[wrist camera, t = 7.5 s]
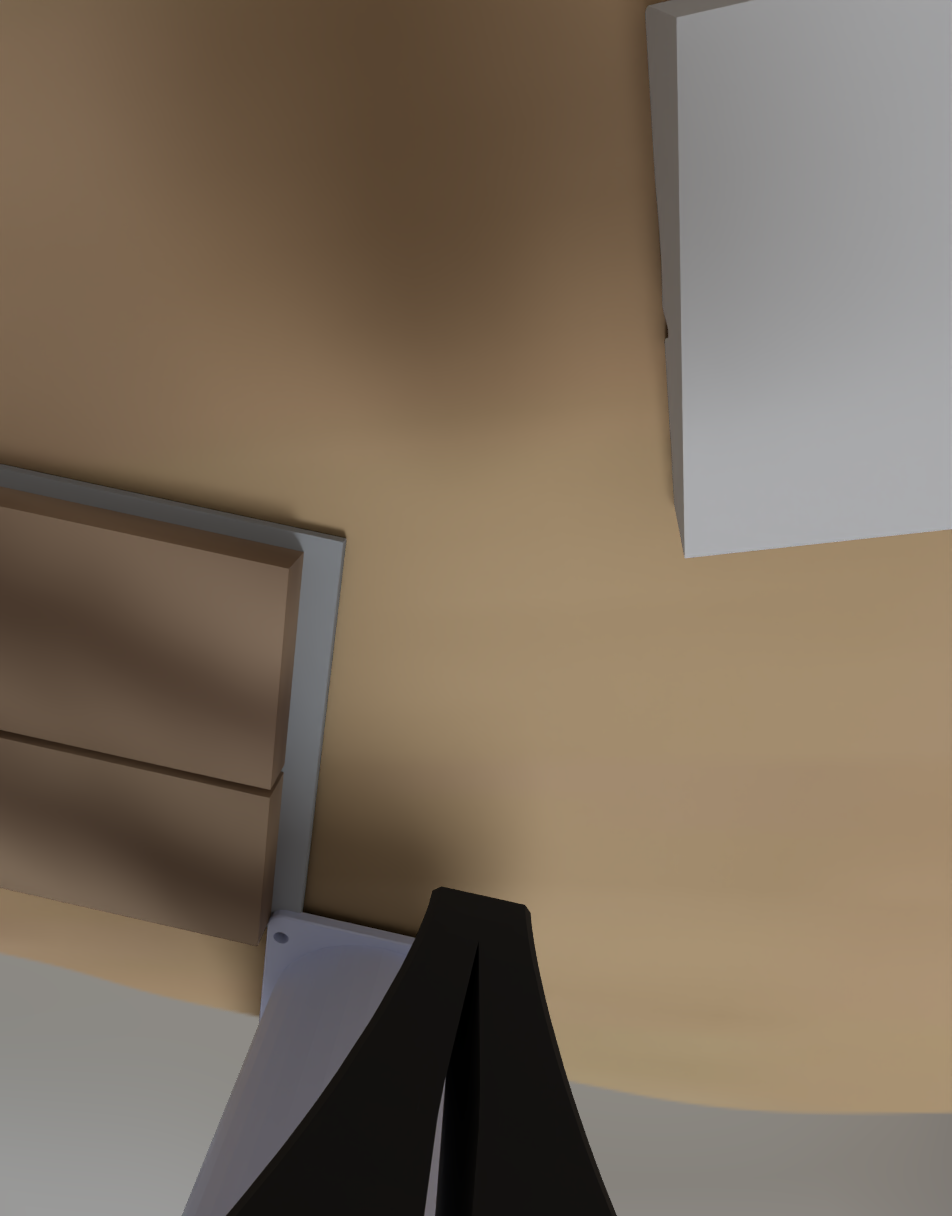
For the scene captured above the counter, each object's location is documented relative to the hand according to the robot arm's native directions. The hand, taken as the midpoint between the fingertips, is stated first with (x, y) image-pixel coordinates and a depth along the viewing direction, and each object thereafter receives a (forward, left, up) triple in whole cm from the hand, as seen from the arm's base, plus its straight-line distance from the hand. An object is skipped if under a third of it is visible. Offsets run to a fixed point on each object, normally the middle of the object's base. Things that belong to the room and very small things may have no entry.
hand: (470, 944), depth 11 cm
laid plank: (-9, +13, -10) cm, 19 cm away
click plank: (-3, +13, -10) cm, 17 cm away
